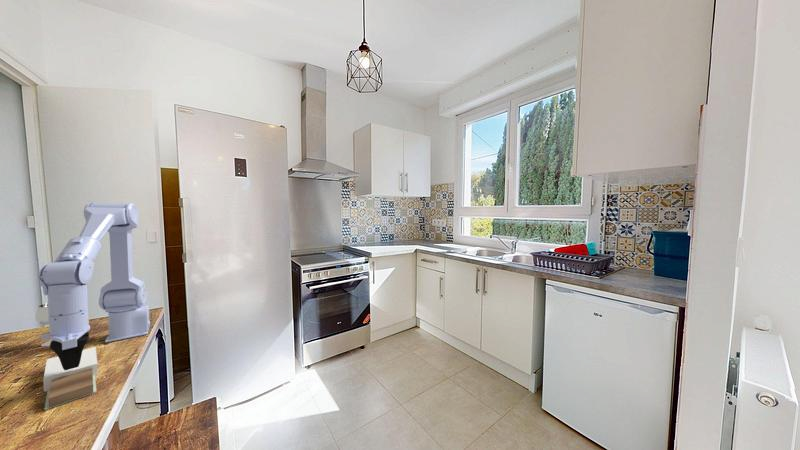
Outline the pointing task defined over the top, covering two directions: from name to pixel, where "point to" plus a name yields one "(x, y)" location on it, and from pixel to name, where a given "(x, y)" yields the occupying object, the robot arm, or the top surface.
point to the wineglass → (43, 319)
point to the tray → (57, 371)
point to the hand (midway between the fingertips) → (71, 367)
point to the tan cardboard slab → (70, 387)
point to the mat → (71, 400)
